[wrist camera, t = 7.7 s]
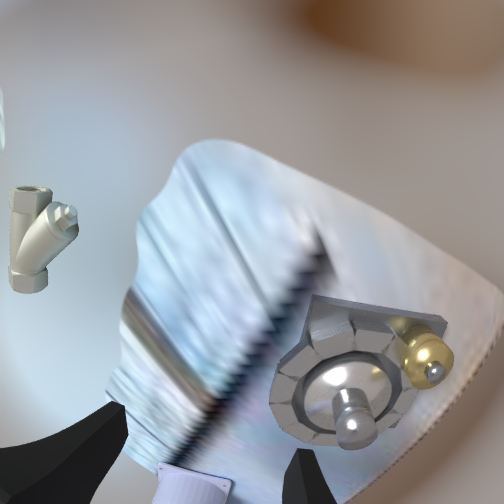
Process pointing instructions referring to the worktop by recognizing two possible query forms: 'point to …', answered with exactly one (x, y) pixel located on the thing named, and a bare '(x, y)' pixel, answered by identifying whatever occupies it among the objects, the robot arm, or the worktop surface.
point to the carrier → (366, 342)
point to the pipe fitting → (37, 235)
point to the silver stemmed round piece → (348, 397)
